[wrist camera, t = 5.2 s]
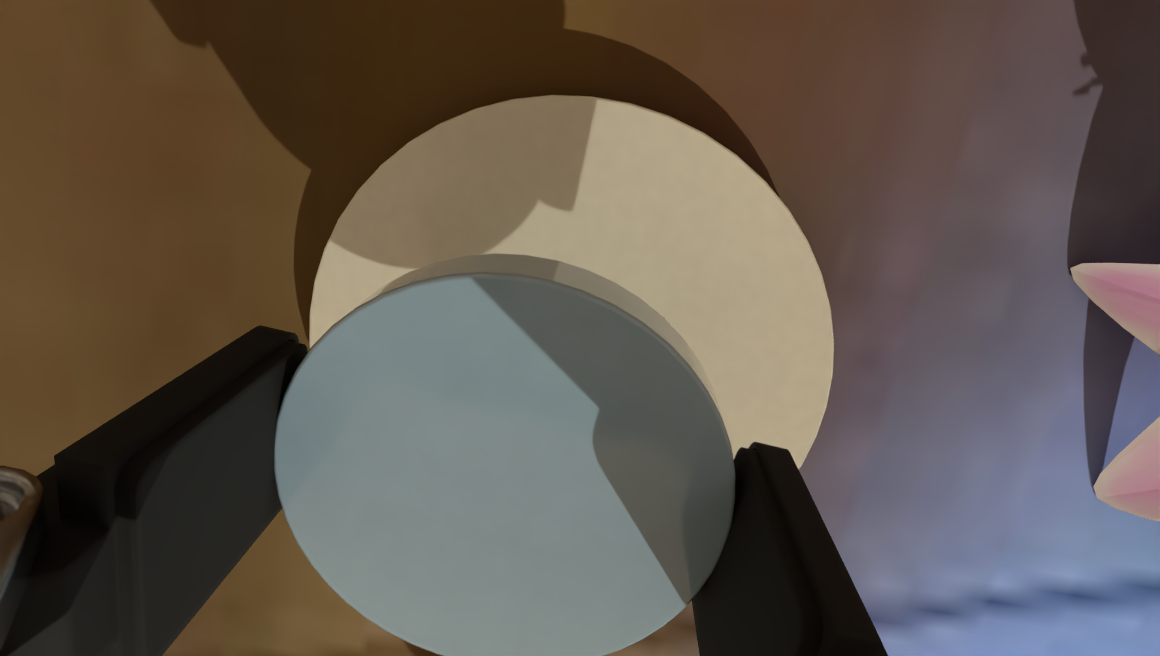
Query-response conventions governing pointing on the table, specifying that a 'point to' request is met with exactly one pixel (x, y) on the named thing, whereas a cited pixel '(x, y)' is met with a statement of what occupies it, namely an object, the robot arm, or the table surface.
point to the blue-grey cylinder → (506, 461)
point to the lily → (1156, 317)
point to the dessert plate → (610, 240)
